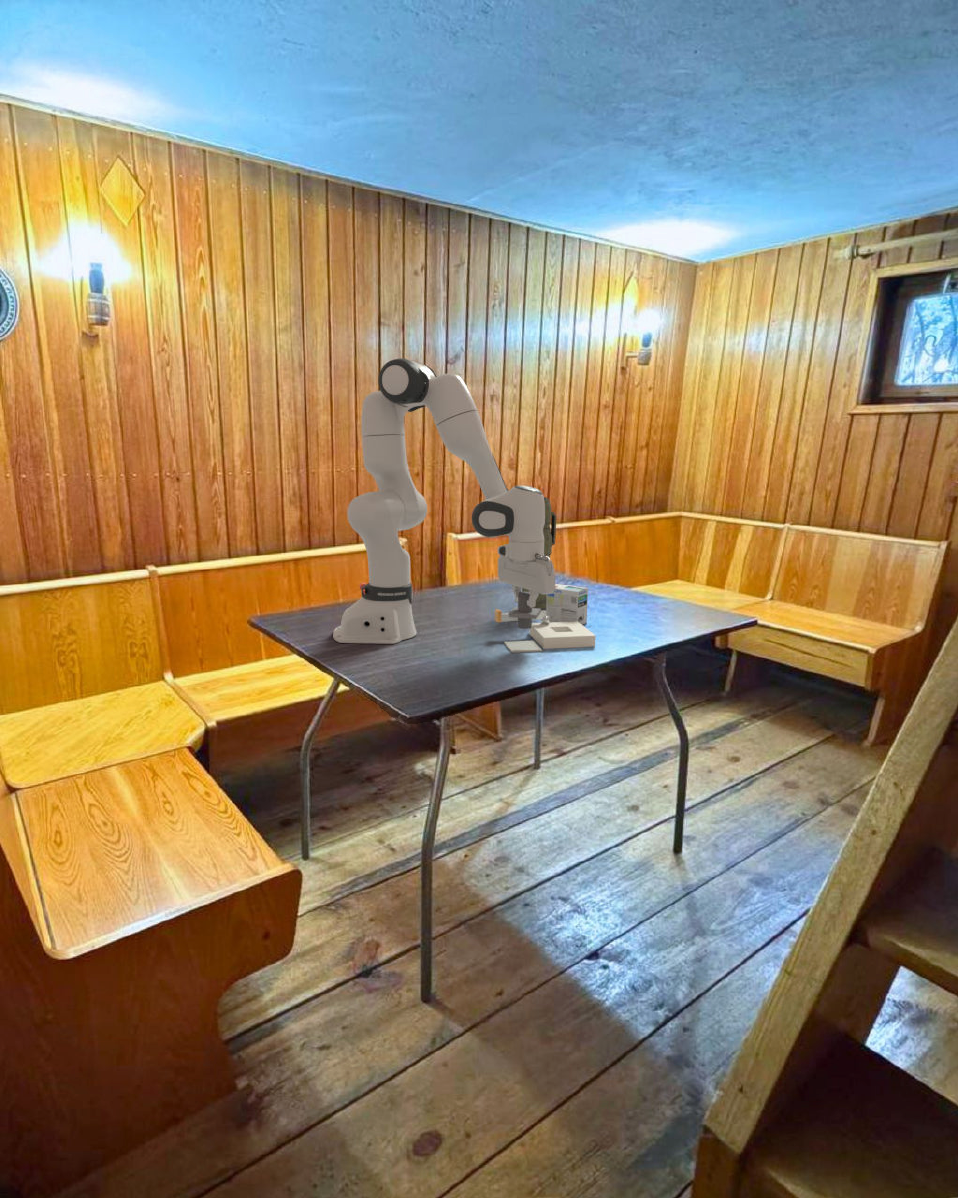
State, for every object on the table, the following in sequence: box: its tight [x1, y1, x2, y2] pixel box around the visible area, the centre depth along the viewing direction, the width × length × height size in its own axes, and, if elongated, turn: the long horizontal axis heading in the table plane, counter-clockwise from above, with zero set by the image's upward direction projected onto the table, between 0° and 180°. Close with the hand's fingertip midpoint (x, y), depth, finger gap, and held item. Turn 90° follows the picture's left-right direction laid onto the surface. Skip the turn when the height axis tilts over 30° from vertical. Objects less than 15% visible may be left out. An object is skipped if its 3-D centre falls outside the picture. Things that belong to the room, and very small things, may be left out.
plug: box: [508, 591, 542, 630], centre depth 175 cm, size 7×7×9 cm
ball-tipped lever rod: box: [494, 608, 550, 624], centre depth 186 cm, size 16×2×4 cm, turn 107°
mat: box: [503, 640, 543, 654], centre depth 177 cm, size 8×8×1 cm
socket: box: [528, 621, 596, 650], centre depth 184 cm, size 14×14×3 cm
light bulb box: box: [545, 583, 589, 626], centre depth 201 cm, size 11×7×11 cm, turn 57°
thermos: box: [521, 496, 557, 611], centre depth 215 cm, size 9×12×35 cm
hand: (525, 604), depth 174 cm, fingers closed on plug, 4 cm apart
